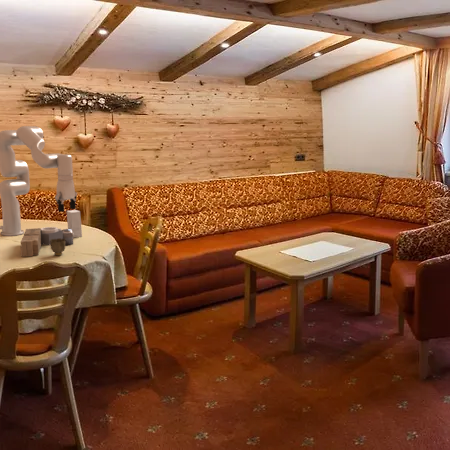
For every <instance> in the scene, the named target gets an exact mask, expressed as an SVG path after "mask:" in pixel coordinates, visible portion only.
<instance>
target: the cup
mask: <svg viewBox="0 0 450 450" xmlns="http://www.w3.org/2000/svg"><path fill="white" fill-rule="evenodd" d="M65 241H66V239H65V238H64V239H63V238H62V239H61V238H58V239H57V240H56V239H55V240H54V239H52V240H50V245H49V246H50V249H51V251H52V252H53V253H54V256H55V257H59V256H62V255H63V252H64V251H65V249H66V245H65Z"/></svg>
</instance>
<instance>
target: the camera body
mask: <svg viewBox="0 0 450 450" xmlns="http://www.w3.org/2000/svg"><path fill="white" fill-rule="evenodd" d="M58 238H61V239H62V238H63V229H62V228H58V227H55V226H46V227H41V245H45V246H51V245H50V240H52V239H54V240H55V239H56V240H57V239H58Z"/></svg>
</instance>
